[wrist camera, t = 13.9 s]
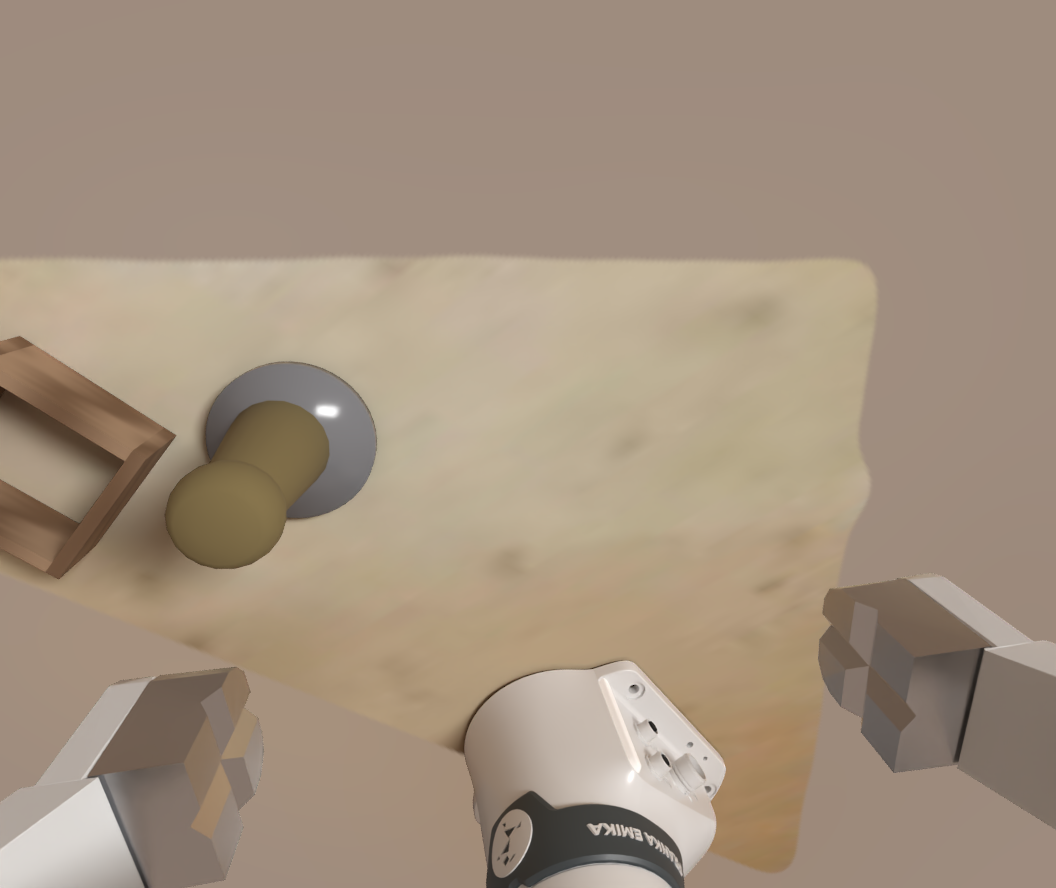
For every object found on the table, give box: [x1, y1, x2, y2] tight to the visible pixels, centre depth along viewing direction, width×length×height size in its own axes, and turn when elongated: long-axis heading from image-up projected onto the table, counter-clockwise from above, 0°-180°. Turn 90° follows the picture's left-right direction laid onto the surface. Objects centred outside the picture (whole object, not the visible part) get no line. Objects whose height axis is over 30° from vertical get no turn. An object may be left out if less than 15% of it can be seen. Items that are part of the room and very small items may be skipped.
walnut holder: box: [0, 336, 176, 579], centre depth 36 cm, size 10×10×4 cm
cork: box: [165, 400, 330, 569], centre depth 33 cm, size 6×6×11 cm
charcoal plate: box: [206, 362, 377, 518], centre depth 38 cm, size 10×10×1 cm
